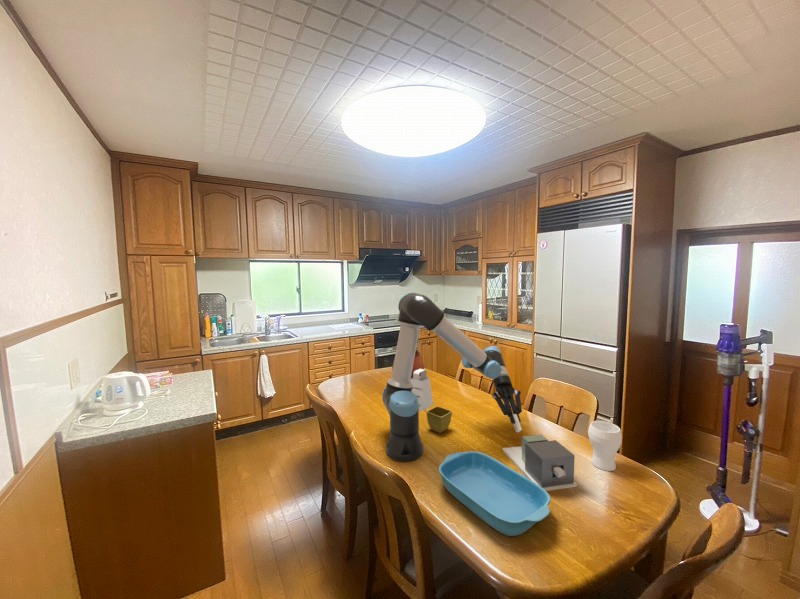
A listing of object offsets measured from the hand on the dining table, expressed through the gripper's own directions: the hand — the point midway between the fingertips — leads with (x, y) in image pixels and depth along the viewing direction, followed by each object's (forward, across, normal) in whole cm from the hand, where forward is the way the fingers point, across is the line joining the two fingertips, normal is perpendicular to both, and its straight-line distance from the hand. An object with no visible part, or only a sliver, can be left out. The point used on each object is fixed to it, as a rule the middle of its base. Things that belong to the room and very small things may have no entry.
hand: (519, 431), depth 132 cm
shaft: (+17, 0, -8) cm, 19 cm away
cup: (+17, +26, -5) cm, 31 cm away
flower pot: (-10, -27, +21) cm, 36 cm away
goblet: (-45, -33, +56) cm, 79 cm away
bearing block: (+19, 0, -9) cm, 21 cm away
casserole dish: (+24, -24, -12) cm, 36 cm away
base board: (+14, 0, -3) cm, 15 cm away
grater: (-29, -30, +41) cm, 59 cm away
